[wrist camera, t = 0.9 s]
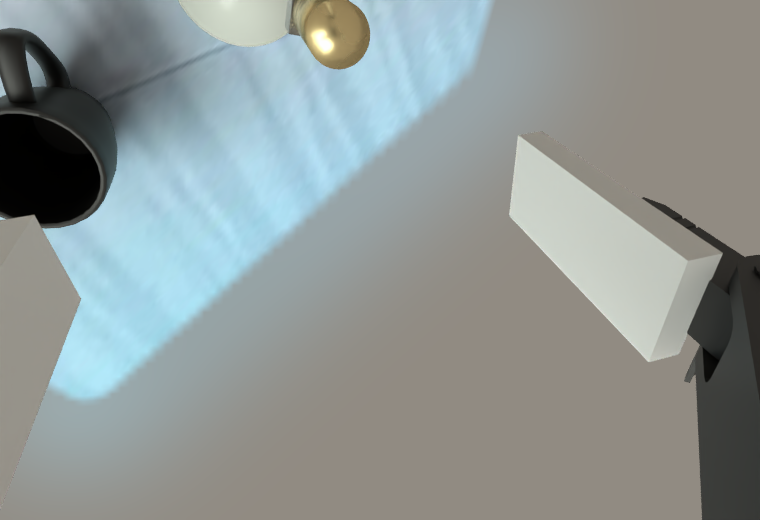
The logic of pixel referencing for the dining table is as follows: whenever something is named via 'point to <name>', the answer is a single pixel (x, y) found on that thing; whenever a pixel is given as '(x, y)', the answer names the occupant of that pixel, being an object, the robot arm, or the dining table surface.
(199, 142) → the dining table surface
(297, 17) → the bar
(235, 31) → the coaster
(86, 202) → the mug
